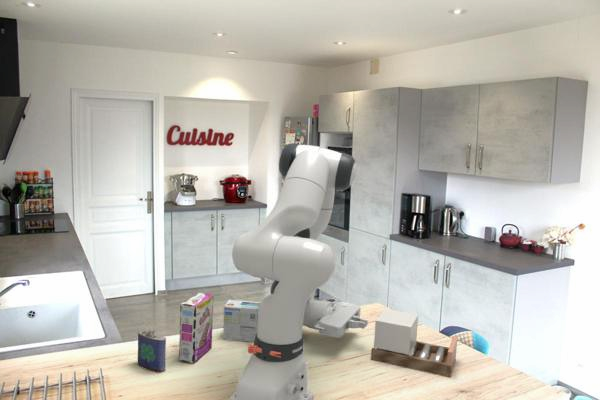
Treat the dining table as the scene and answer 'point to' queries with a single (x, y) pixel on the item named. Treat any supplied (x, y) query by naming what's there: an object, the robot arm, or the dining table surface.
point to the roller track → (413, 359)
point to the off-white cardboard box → (396, 331)
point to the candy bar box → (195, 327)
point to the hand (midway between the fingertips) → (366, 324)
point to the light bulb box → (240, 320)
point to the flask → (151, 351)
